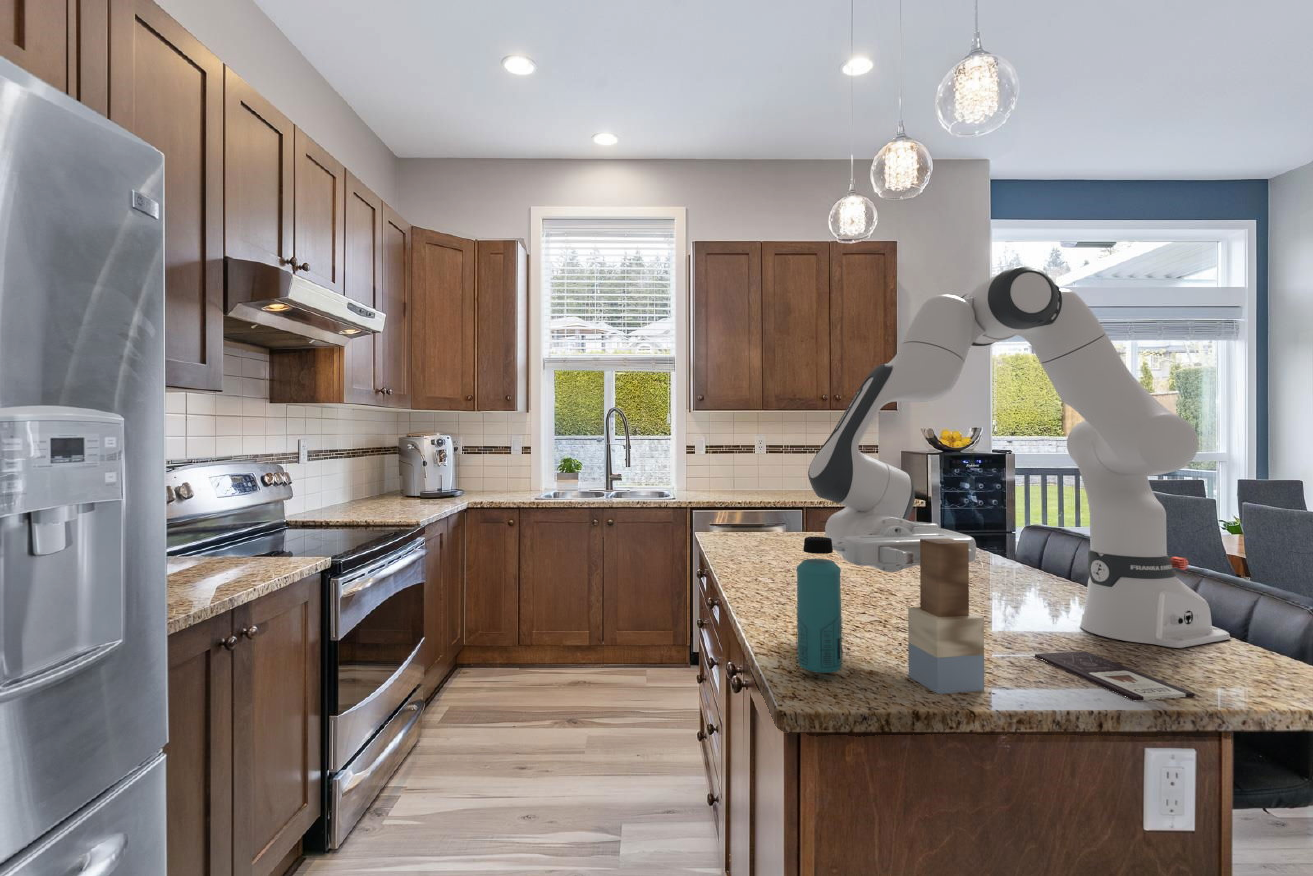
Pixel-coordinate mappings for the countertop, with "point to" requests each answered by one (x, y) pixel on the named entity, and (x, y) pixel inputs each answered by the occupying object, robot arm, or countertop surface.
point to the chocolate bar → (1114, 676)
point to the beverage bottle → (819, 610)
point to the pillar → (944, 577)
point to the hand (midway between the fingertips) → (938, 557)
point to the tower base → (946, 671)
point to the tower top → (946, 633)
